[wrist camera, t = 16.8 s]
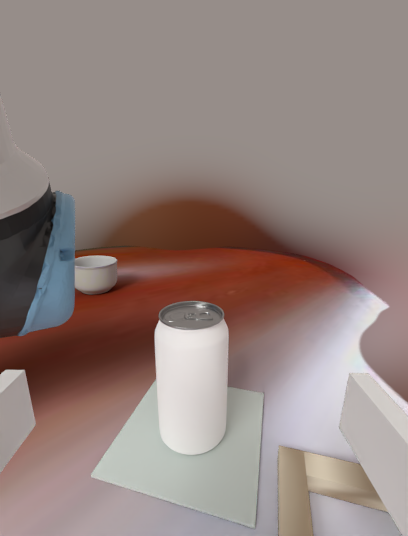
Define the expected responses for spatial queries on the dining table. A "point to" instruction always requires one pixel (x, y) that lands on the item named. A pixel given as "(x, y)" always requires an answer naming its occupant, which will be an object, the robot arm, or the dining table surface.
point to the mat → (192, 461)
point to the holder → (317, 487)
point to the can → (191, 376)
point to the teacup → (95, 274)
